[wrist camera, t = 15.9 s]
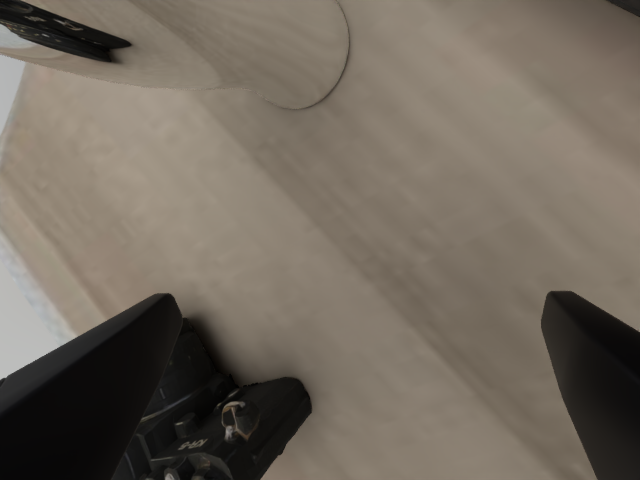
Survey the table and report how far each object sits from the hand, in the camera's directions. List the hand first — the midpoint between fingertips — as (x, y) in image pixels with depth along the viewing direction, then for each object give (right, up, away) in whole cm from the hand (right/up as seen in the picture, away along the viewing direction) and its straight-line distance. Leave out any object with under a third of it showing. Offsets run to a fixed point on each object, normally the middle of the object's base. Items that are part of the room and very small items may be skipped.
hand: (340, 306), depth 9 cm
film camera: (-9, -9, +19) cm, 23 cm away
